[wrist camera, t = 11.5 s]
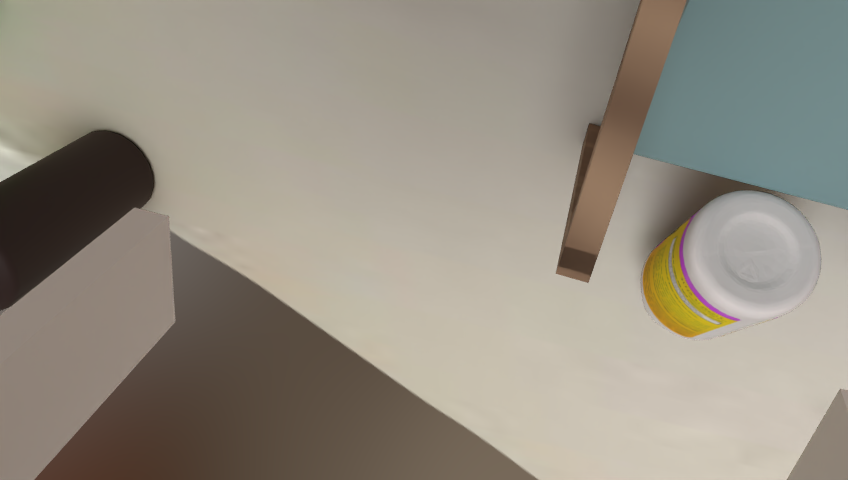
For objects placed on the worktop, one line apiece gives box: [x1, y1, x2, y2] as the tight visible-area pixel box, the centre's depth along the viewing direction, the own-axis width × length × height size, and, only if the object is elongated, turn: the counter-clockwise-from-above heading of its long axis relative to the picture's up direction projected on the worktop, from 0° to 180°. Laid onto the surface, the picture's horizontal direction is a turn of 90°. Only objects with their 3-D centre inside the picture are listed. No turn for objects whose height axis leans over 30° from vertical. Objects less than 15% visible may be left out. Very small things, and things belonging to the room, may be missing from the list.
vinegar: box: [0, 131, 153, 311], centre depth 50 cm, size 7×7×20 cm
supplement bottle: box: [641, 190, 821, 340], centre depth 43 cm, size 7×7×13 cm
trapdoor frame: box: [556, 0, 687, 283], centre depth 35 cm, size 18×19×16 cm
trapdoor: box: [633, 0, 848, 210], centre depth 31 cm, size 14×15×1 cm
